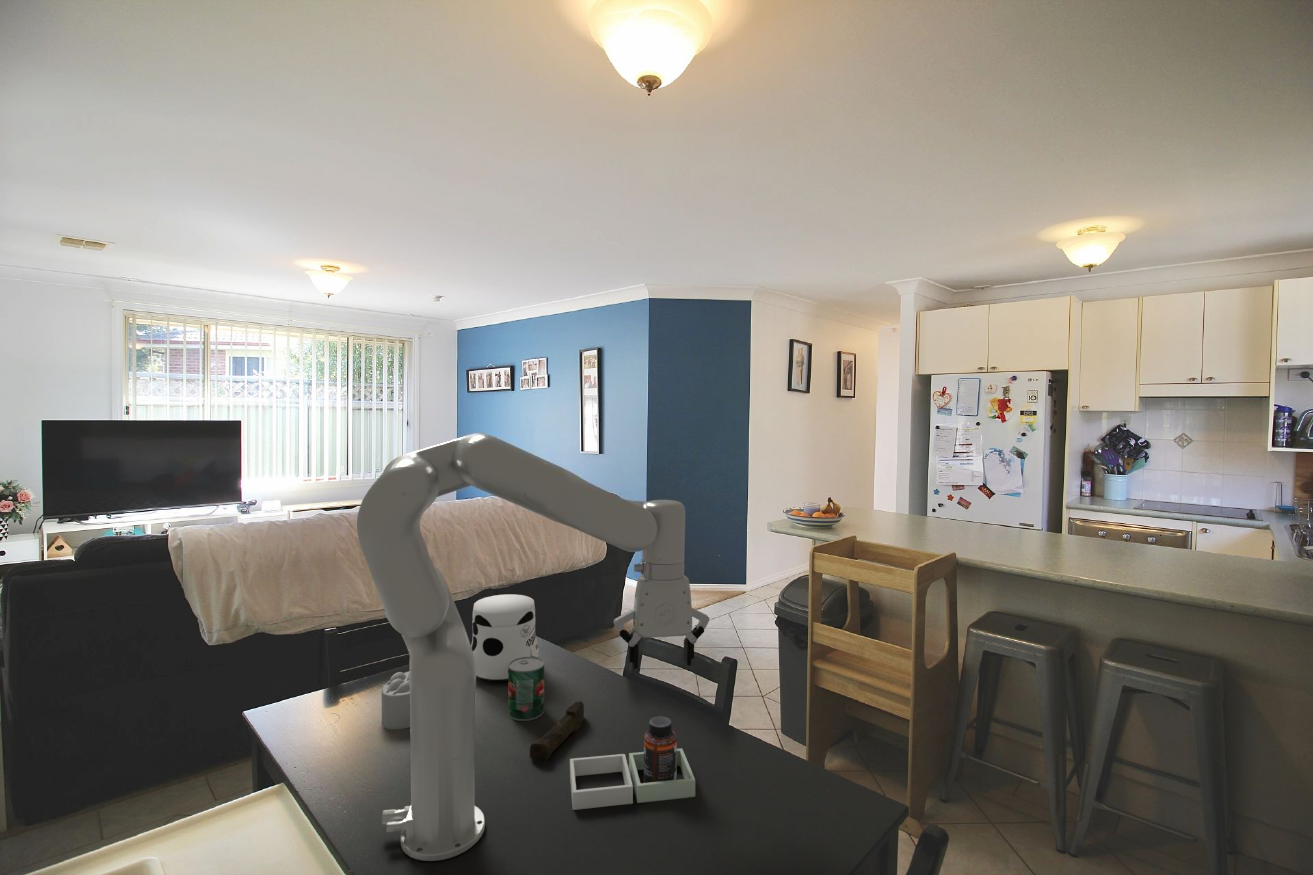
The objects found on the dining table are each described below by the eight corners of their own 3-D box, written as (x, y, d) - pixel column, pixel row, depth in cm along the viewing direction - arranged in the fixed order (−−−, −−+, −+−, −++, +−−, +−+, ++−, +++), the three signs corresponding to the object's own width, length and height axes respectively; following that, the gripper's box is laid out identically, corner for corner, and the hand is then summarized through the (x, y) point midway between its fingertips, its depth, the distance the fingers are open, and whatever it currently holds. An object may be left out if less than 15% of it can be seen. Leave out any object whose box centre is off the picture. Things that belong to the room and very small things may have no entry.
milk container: (552, 672, 158) (552, 603, 157) (492, 694, 146) (492, 619, 145) (514, 653, 170) (514, 589, 169) (455, 672, 158) (455, 602, 157)
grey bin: (572, 809, 104) (572, 792, 104) (569, 774, 114) (569, 758, 114) (632, 803, 106) (632, 786, 106) (624, 769, 116) (624, 753, 116)
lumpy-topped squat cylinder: (449, 706, 140) (449, 668, 140) (406, 733, 128) (406, 692, 127) (413, 697, 144) (413, 661, 143) (368, 724, 132) (368, 684, 131)
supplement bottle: (683, 782, 112) (684, 721, 112) (661, 797, 108) (661, 733, 107) (659, 768, 116) (659, 710, 116) (636, 782, 112) (637, 721, 111)
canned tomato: (550, 714, 136) (550, 665, 136) (516, 724, 132) (516, 674, 131) (535, 700, 143) (535, 653, 142) (502, 709, 138) (502, 661, 138)
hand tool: (546, 767, 117) (546, 743, 117) (528, 762, 118) (528, 738, 118) (594, 721, 134) (594, 700, 134) (578, 717, 136) (578, 696, 136)
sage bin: (637, 802, 106) (637, 785, 106) (629, 768, 116) (629, 753, 116) (695, 796, 108) (695, 779, 108) (681, 763, 118) (682, 748, 118)
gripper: (617, 576, 105) (615, 676, 106) (715, 573, 108) (713, 670, 109) (612, 565, 112) (610, 658, 113) (704, 563, 116) (702, 653, 116)
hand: (661, 664), depth 111 cm, fingers open, 9 cm apart
